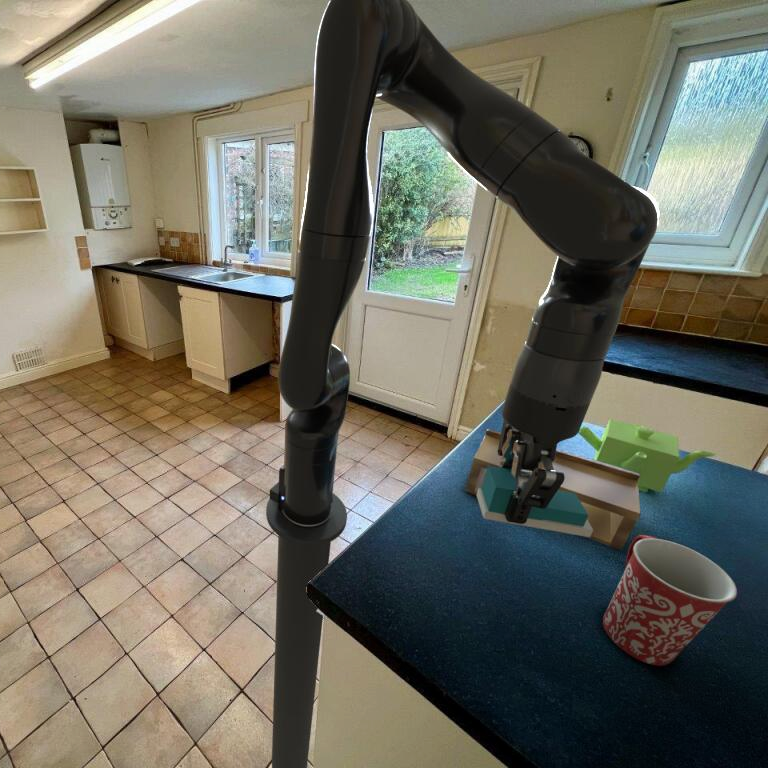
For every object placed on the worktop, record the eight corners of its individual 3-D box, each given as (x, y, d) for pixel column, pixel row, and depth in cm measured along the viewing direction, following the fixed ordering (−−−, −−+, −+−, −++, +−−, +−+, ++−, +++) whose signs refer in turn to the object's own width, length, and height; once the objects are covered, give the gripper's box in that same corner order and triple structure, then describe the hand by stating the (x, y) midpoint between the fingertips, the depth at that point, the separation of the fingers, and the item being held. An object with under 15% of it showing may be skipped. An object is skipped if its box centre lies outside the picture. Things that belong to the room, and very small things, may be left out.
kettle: (693, 497, 79) (721, 449, 74) (626, 504, 78) (650, 455, 73) (622, 452, 93) (642, 408, 88) (564, 456, 91) (581, 412, 86)
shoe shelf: (464, 491, 81) (475, 453, 77) (477, 464, 89) (487, 428, 85) (621, 550, 68) (643, 508, 64) (620, 512, 76) (639, 473, 72)
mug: (698, 687, 49) (757, 613, 44) (606, 657, 53) (649, 584, 47) (655, 599, 60) (698, 530, 54) (580, 578, 63) (613, 511, 57)
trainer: (483, 518, 52) (493, 487, 50) (476, 494, 56) (485, 464, 54) (590, 537, 49) (605, 505, 47) (574, 510, 53) (588, 480, 51)
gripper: (497, 359, 52) (466, 468, 60) (532, 414, 40) (488, 542, 48) (564, 365, 51) (524, 477, 58) (623, 425, 38) (563, 556, 46)
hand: (508, 505), depth 53 cm, fingers closed on trainer, 4 cm apart
